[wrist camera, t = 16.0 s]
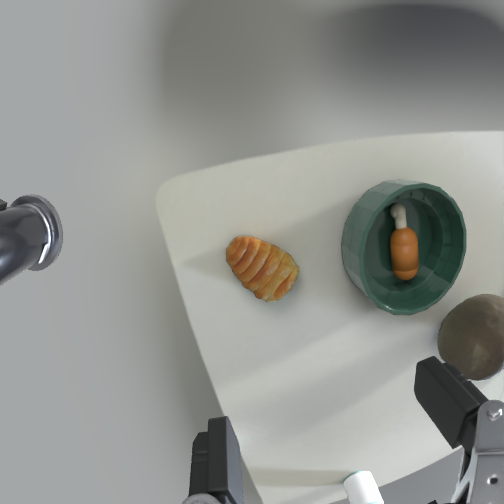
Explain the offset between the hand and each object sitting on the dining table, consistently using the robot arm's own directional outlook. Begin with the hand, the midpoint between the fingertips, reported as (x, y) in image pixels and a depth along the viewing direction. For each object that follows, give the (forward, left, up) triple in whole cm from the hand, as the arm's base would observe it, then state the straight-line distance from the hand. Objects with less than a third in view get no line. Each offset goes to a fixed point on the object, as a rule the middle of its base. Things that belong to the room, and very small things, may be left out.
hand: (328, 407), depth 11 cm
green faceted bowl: (+18, +8, -30) cm, 36 cm away
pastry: (+2, -3, -30) cm, 31 cm away
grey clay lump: (+38, +2, -30) cm, 49 cm away
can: (+47, -42, -30) cm, 70 cm away
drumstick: (+18, +8, -30) cm, 36 cm away
